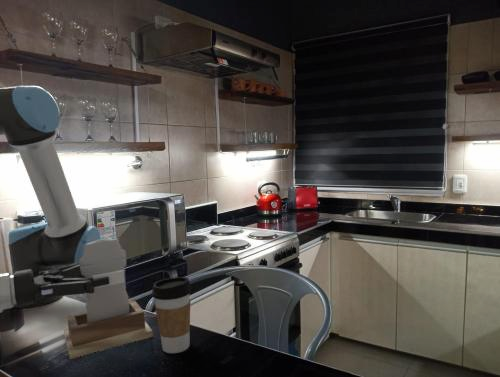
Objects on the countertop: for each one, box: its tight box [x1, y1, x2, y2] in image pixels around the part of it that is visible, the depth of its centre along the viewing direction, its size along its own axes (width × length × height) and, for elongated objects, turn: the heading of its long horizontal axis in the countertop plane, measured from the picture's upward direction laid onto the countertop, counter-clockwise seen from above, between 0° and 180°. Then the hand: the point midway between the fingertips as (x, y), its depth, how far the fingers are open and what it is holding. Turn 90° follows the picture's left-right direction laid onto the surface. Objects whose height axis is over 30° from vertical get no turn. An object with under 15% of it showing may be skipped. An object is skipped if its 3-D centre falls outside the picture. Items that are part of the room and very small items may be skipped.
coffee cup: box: [151, 276, 192, 354], centre depth 90 cm, size 8×8×15 cm
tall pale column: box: [79, 238, 130, 323], centre depth 97 cm, size 11×4×22 cm, turn 123°
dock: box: [63, 300, 154, 360], centre depth 97 cm, size 14×18×6 cm
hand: (118, 269), depth 98 cm, fingers open, 11 cm apart
